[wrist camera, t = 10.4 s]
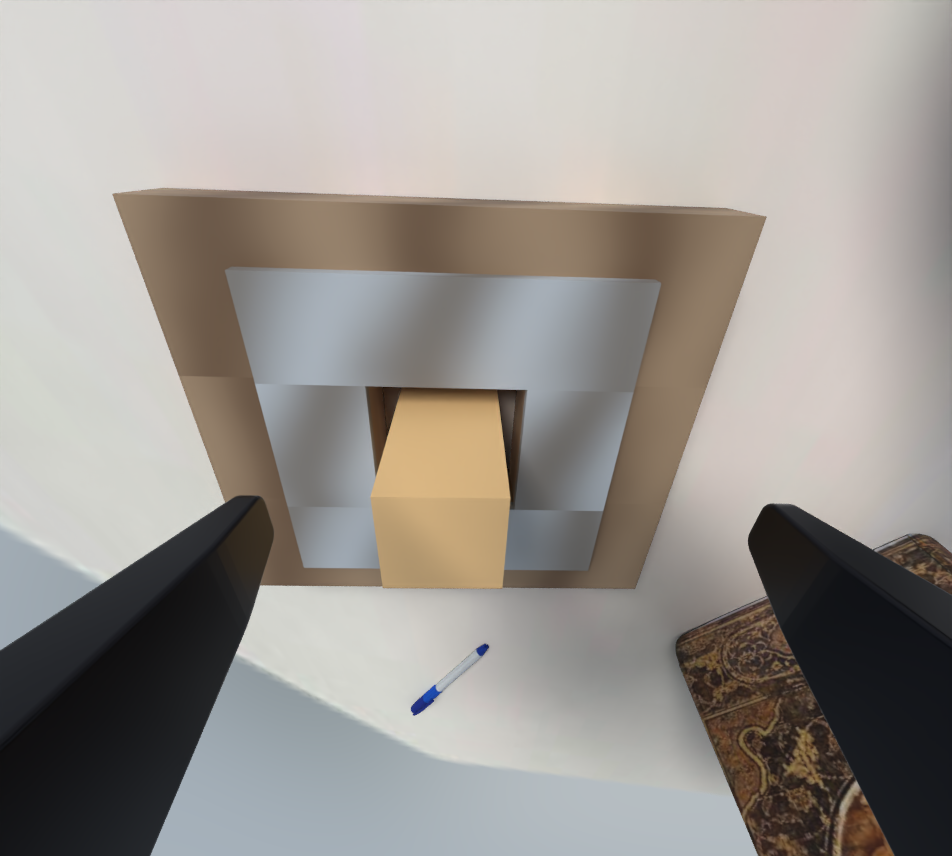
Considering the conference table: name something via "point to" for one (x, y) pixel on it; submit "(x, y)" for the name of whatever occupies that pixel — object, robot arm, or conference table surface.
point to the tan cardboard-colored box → (443, 491)
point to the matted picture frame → (442, 356)
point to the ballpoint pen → (447, 680)
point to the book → (786, 726)
